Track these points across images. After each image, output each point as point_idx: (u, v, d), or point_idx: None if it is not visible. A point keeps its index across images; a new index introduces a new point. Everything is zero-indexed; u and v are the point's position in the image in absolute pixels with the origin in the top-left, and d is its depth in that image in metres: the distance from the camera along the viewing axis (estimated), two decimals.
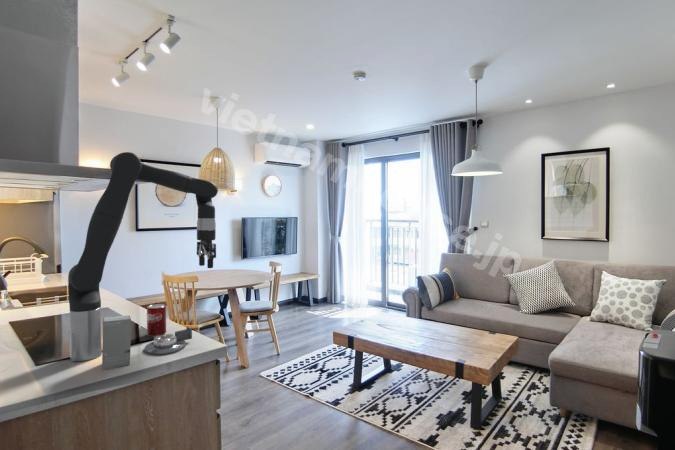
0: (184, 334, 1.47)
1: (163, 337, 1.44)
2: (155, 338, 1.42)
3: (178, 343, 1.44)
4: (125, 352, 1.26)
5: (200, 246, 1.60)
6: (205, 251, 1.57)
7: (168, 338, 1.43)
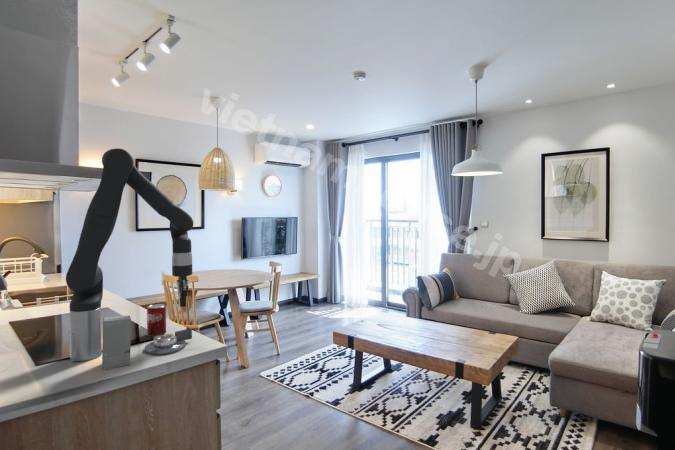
0: (184, 334, 1.47)
1: (163, 337, 1.44)
2: (155, 338, 1.42)
3: (178, 343, 1.44)
4: (125, 352, 1.26)
5: None
6: None
7: (168, 338, 1.43)
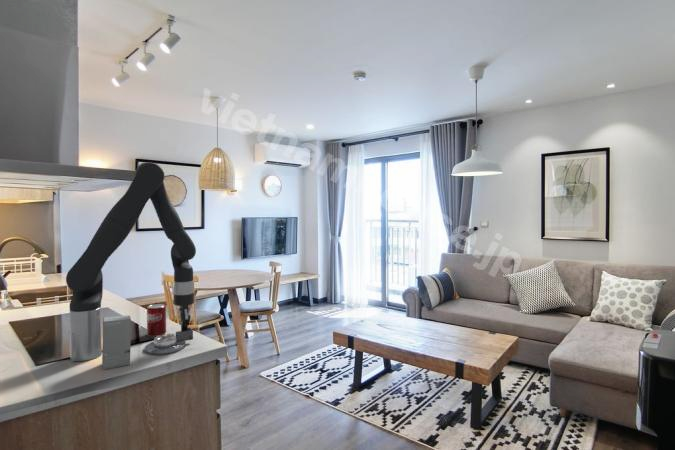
0: (185, 335, 1.46)
1: (164, 337, 1.44)
2: (155, 338, 1.42)
3: (178, 343, 1.44)
4: (125, 352, 1.26)
5: (189, 310, 1.50)
6: None
7: (168, 338, 1.43)
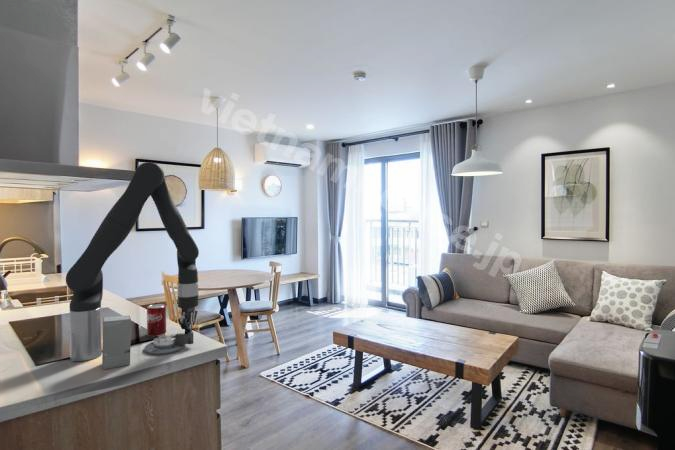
0: (183, 338, 1.43)
1: (167, 337, 1.45)
2: (158, 336, 1.44)
3: None
4: (125, 352, 1.26)
5: (192, 313, 1.45)
6: (194, 318, 1.48)
7: (168, 339, 1.42)
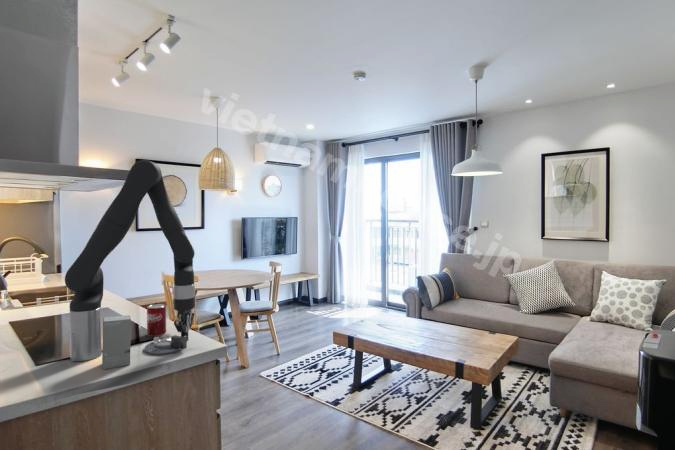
0: (177, 341, 1.39)
1: (170, 337, 1.44)
2: (163, 335, 1.45)
3: None
4: (125, 352, 1.26)
5: (188, 316, 1.41)
6: (190, 321, 1.44)
7: None
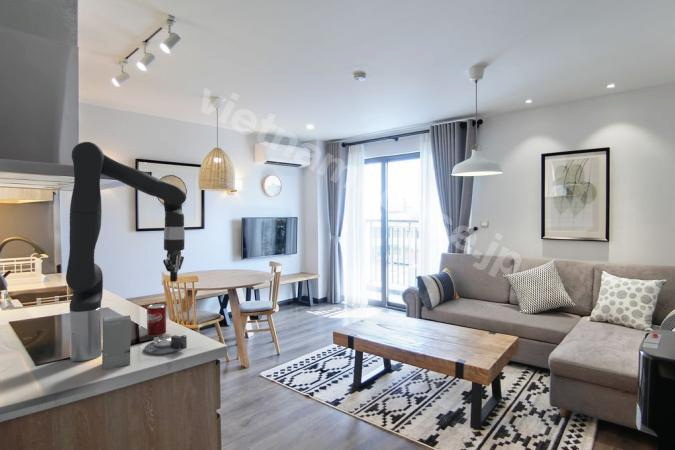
0: (177, 341, 1.39)
1: (170, 337, 1.44)
2: (163, 335, 1.45)
3: None
4: (125, 352, 1.26)
5: (177, 257, 1.49)
6: (179, 262, 1.51)
7: None
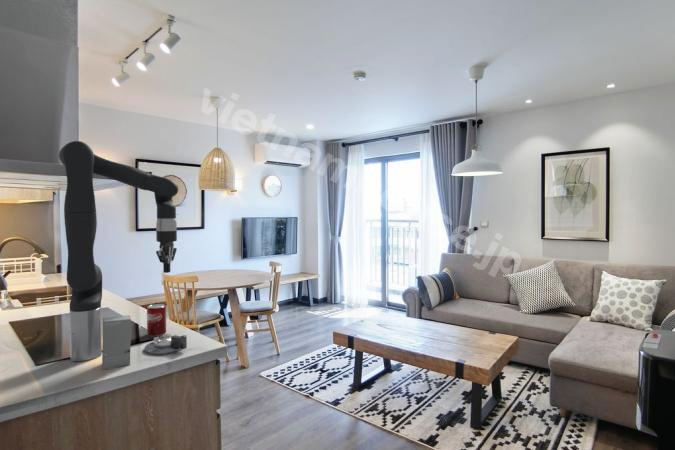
0: (177, 341, 1.39)
1: (170, 337, 1.44)
2: (163, 335, 1.45)
3: None
4: (125, 352, 1.26)
5: (170, 248, 1.51)
6: (172, 254, 1.54)
7: None
